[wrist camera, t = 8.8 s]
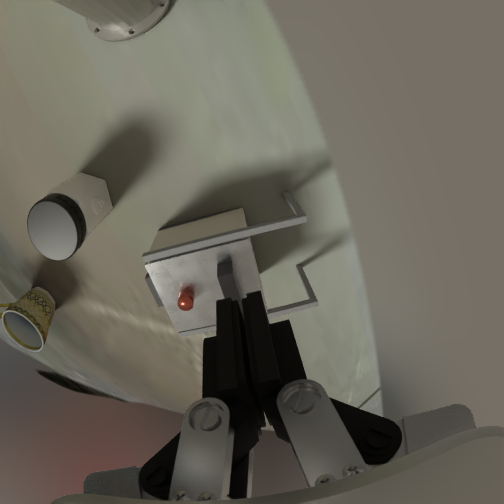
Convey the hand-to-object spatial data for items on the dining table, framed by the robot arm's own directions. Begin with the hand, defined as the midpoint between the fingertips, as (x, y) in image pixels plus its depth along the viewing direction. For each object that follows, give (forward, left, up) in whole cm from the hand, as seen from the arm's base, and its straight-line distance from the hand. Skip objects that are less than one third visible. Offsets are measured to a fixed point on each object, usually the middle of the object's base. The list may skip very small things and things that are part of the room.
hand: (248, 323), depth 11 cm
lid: (+13, -6, -23) cm, 27 cm away
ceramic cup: (+13, -44, -32) cm, 56 cm away
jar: (-1, -22, -32) cm, 39 cm away
